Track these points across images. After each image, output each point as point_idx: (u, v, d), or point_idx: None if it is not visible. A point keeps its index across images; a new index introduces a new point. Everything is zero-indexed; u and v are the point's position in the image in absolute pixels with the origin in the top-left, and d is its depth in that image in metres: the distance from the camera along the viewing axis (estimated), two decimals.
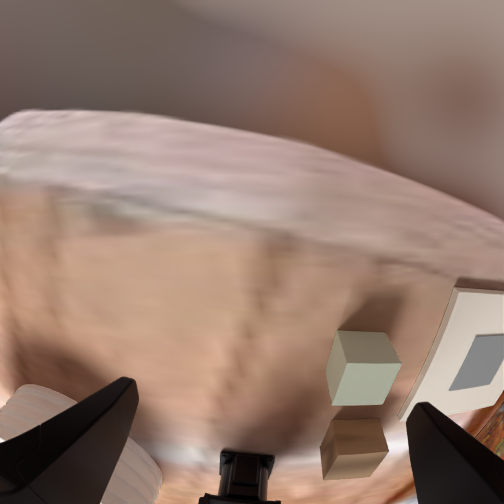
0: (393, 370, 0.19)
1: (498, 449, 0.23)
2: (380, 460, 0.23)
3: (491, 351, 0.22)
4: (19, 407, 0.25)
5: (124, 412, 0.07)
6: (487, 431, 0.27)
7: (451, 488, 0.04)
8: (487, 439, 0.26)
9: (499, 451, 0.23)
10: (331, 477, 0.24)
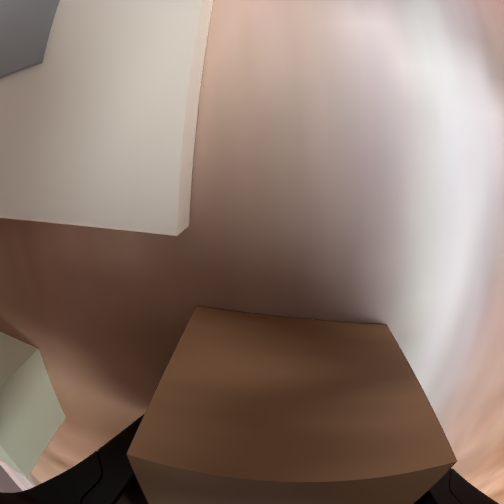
0: None
1: None
2: (239, 483, 0.03)
3: None
4: None
5: None
6: None
7: None
8: None
9: None
10: None
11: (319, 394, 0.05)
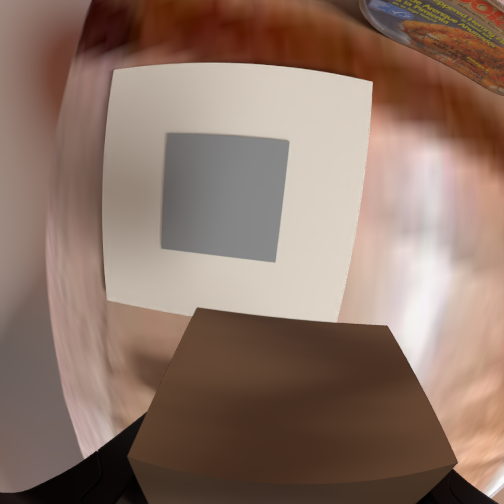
0: None
1: (494, 41, 0.09)
2: (240, 486, 0.03)
3: (194, 191, 0.17)
4: None
5: None
6: (459, 59, 0.13)
7: None
8: (477, 61, 0.12)
9: (499, 39, 0.08)
10: None
11: (321, 396, 0.05)
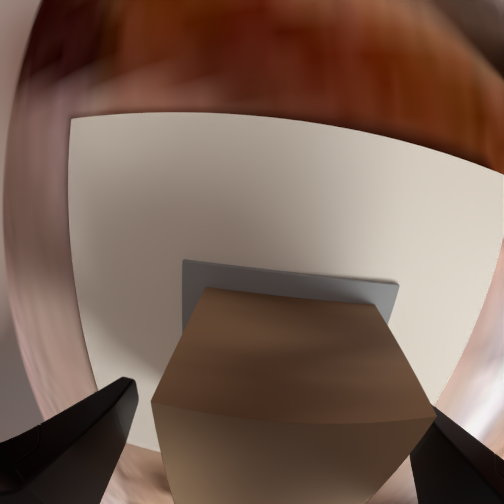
0: None
1: None
2: (246, 425, 0.05)
3: None
4: None
5: (124, 412, 0.07)
6: None
7: (451, 488, 0.04)
8: None
9: None
10: None
11: (314, 356, 0.06)
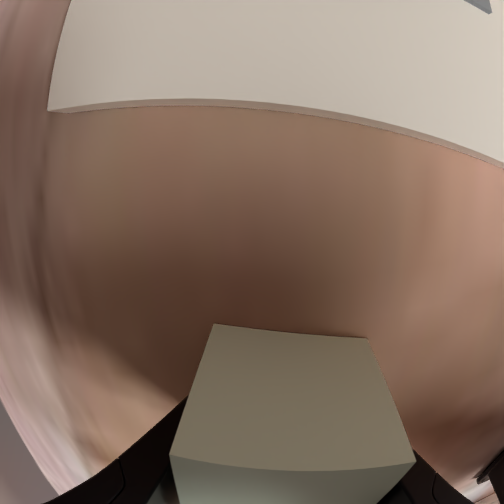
0: (208, 475, 0.04)
1: None
2: None
3: None
4: None
5: None
6: None
7: None
8: None
9: None
10: None
11: None
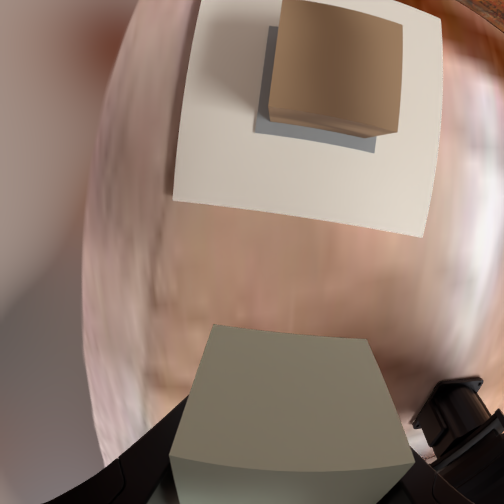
0: (208, 476, 0.04)
1: None
2: (321, 6, 0.09)
3: None
4: None
5: None
6: (499, 18, 0.11)
7: None
8: None
9: None
10: (386, 112, 0.11)
11: None
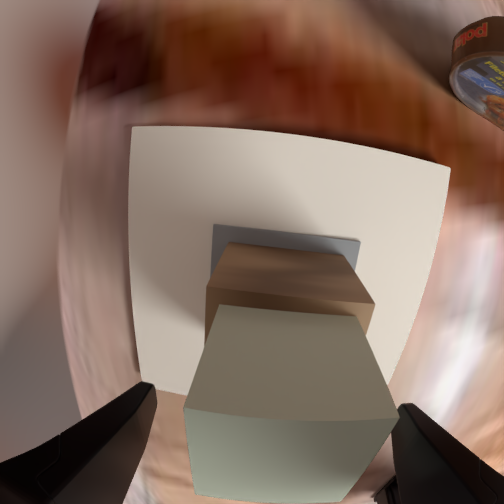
0: (216, 428, 0.05)
1: None
2: (260, 298, 0.09)
3: None
4: None
5: (144, 418, 0.07)
6: None
7: (433, 494, 0.04)
8: None
9: None
10: None
11: (298, 273, 0.11)
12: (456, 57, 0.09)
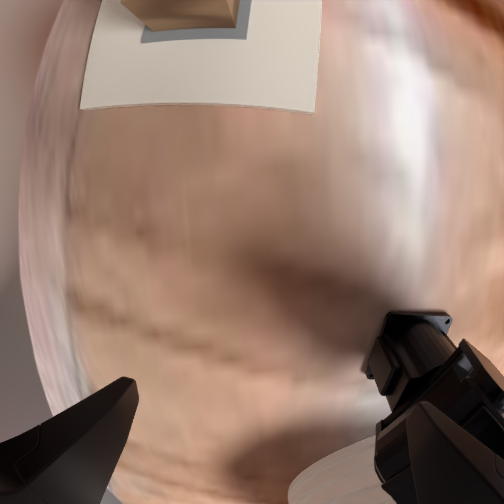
0: None
1: None
2: None
3: None
4: None
5: (124, 412, 0.07)
6: None
7: (451, 488, 0.04)
8: None
9: None
10: None
11: None
12: None
